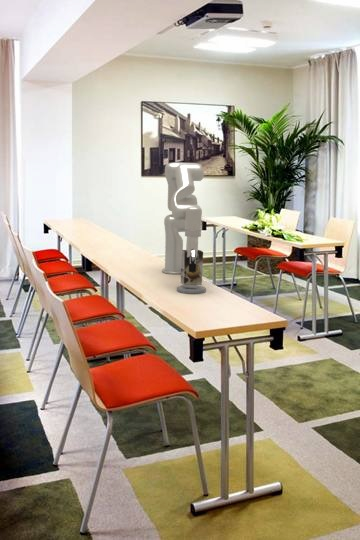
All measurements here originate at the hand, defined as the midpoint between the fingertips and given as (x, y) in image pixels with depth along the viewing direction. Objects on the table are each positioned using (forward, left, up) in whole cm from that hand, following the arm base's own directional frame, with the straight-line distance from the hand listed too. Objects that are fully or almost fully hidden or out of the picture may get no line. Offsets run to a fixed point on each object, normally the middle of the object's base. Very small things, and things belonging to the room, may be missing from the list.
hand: (191, 269), depth 292 cm
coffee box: (0, 0, -7) cm, 7 cm away
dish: (0, 0, -10) cm, 10 cm away
